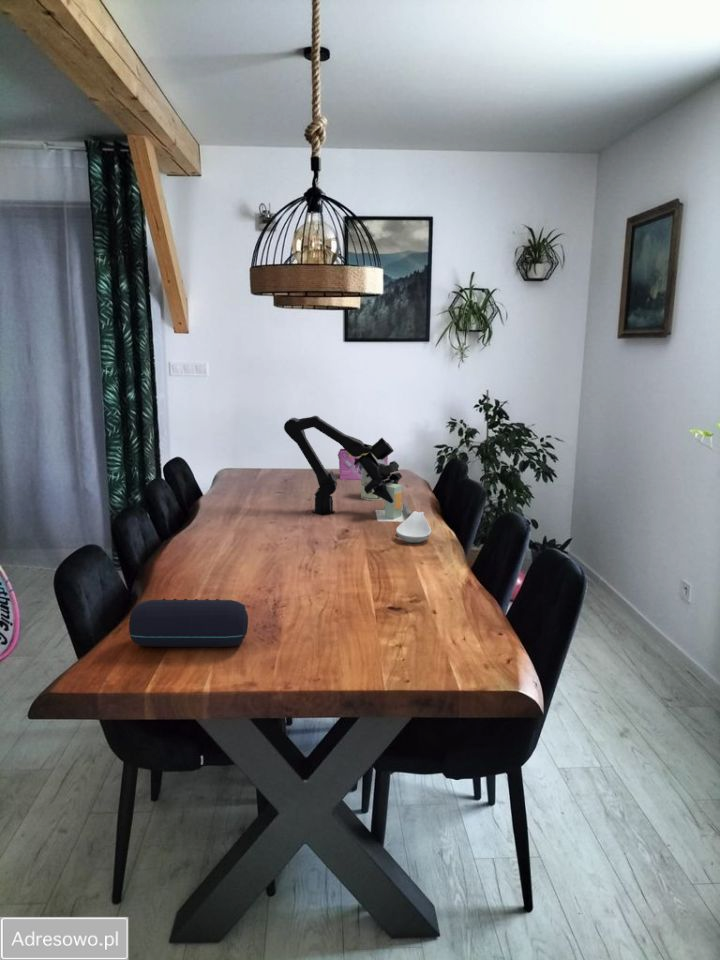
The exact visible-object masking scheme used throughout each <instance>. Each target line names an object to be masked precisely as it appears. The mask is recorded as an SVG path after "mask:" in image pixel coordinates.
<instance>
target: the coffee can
mask: <svg viewBox="0 0 720 960" xmlns="http://www.w3.org/2000/svg"><path fill="white" fill-rule="evenodd" d="M379 465H384V466H386V465H385V464H381V463H379ZM361 467H362V466H361ZM366 475H367V473H366V471H365V470H364V469H363V467H362V477H361V480H360V481H361V485H360V486H361V487H360V488H361V490H360V491H361V492H360V493H361V494H360V498H361V499H362V500H365V501H375V500H379V501H382V500H384V499H383V498H381V497H379V496H377V495H374V494H372V493H373V492H374V489H372V493H370V494H366V492H365V491H364V487H365V486H366V485H367V484H368V483H369V482H370V481H371V478H370V477H368V478H367V477H366Z"/></svg>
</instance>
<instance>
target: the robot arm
mask: <svg viewBox="0 0 720 960" xmlns="http://www.w3.org/2000/svg"><path fill="white" fill-rule="evenodd" d="M311 428H312V429H315V430H317V431H319V432H320V433H322V434H323V435H325V436H327V437H328V438H330V439H332V440H333V441H335V442H336V443H338V444H339V445H340V446H341V447H342V449H345V450H346V451H347V452H348V453H349V454H351V455H352V456H354V457H358V456H360V455H362V454H363V455H362V456H361V457H360V458H358V459H357V458H355V462H354V465H356V466H358V465H361V466H362V467H363V469H364V470H365V471H366V473H367V475H366V477H367V478H368V477H370V478H371V481H370V482H369V483H368V484H367V485H366V486H365V487H364V491H365V492H366V494H370V493H372V489H374V492H373V493H372V494H374V495H377V496H379V497H381V498H383V499H382V500H384V501H385V500H386V501H388V502H390V503H393V499H392V498H391V496H390V494H389V493H388V491H387V490H386V486H387V485H390V484H398V485H399V482H400V480H401V479H402V478H403V475H402V474H401V472H399V468H400V465H399V463H397V461H396V460H393V461H390V462H389V463H388V465H387V466H384V465H379V463H378V462H377V461H376V459H377V460H380V459H381V460H383V459H385V458H386V457H387V456H388V457H389V456H390V455H391V454H392V453H393V452H394V451H395V450H394V449H393V447H392V446H391V445H390V443H389V442H387V441H386V440H385V439H384V437H380V438H379V439H378V440H377V441H376V442H375V443H373V445H371V444H367V443H364V441H362V440H360V439H358V438H356V437H353V436H351V435H349V434H345V433H343V432H342V431H340V430H339V429H338V428H336V427H334V426H332V425H331V424H330V423H328V422H326V421H324V420H323V419H322V418H321V417H320V416H319V415H313V416H308V417H302V418H296V417H290V418H289V419H288V420H286V421H285V423H284V426H283V430H284V432H285V433H286V434H287V436H288V437H290V439H292V441H294V442H295V443H296V444H297V446H298V448H299V449H300V451H301V452H302V455H303V456H304V458H305V459H306V461H307V462H308V464H309V466H310V467H311V469H312V470H313V472H314V474H315V477H316V479H317V484H318V485H319V487H318V488H317V489H316V491H315V493H314V496H315V497H314V510H311V512H312V513H314V514H318V515H321V516H326V515H330V514H334V513H336V511H335V510H334V508H333V507H334V500H333V496H332V495H333V494H334V493H335V492H336V490H337V488H338V482H337V480H338V478H337V477H336V476H335V475H334V472H333V470H330V471H328V470H327V469H326V468H325V467H324V464H323V462H321V460H320V458H319V456H318V455H317V453H316V451H315V450H314V448H313V447H312V445H311V443H310V442H309V440H308V438H307V436H306V433H305V430H307V429H311ZM371 450H372V451H371ZM367 453H368V454H367ZM364 454H366V455H364ZM372 454H373V455H374V456H375V457H376V459H375V458H374V457H373V455H372Z"/></svg>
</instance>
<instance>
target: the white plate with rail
mask: <svg viewBox="0 0 720 960" xmlns="http://www.w3.org/2000/svg"><path fill="white" fill-rule="evenodd" d="M384 514H385V509H375V515H376V520H377V522H395V523H396V522H398V523H399V522H401V523H402V522H404V521H405V520H406V519H407V518H408V517H409V516H410V515H411V514H412V513H411V509H410V508H409V505H408V503H407V502H403V504H402V509H401V517H398V518H396V519H389V518H384Z"/></svg>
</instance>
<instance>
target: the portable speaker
mask: <svg viewBox="0 0 720 960" xmlns="http://www.w3.org/2000/svg"><path fill="white" fill-rule="evenodd" d="M248 629H249V615H248V611H247V610H246V605H245V604H243V603H241V602H240V601H235V600H233V599H220V598H218V599H208V598H205V599H198V598H195V599H187V598H184V599H177V598H173V599H166V598H163V599H149V600H145V601H142V602H140V603H137V604H136V605H135V606H133V608H132V609H131V612H130V615H129V621H128V632H129V637H130V639H131V641H132V642H133V643H134V644H136V645H139V646H143V647H148V648H149V647H150V648H155V647H156V648H157V647H158V648H160V647H161V648H176V647H177V648H230V647H236V646H237V647H238V646H240V645H242V644H243V641H244V639H245V638H246V636H247V633H248Z"/></svg>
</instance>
